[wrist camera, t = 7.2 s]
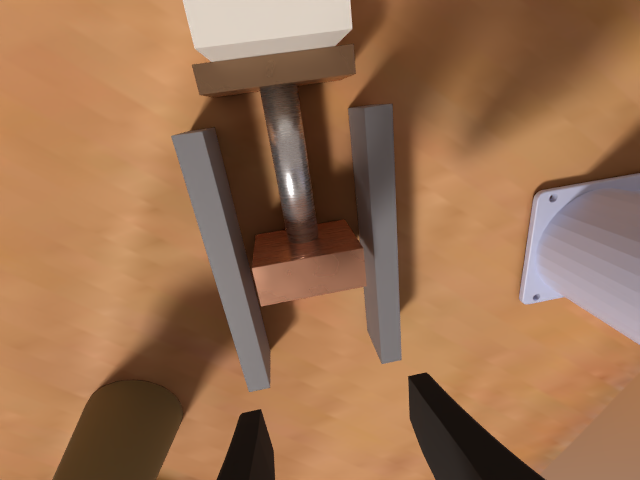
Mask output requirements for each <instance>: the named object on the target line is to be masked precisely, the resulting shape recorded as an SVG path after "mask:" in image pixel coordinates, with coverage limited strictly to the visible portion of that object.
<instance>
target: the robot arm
mask: <svg viewBox="0 0 640 480" xmlns="http://www.w3.org/2000/svg"><path fill="white" fill-rule="evenodd" d="M551 195H552V197H551V199H550V200H549V198H550V196H551ZM534 295H535V296H534ZM561 297H566V298H567V299H569V300H570V301H572V302H574V303H575V304H577V305H578V306H580V307H581V308H583V309H584V310H586V311H588V312H589V313H591V314H592V315H594V316H595V317H597V318H599V319H600V320H602V321H603V322H605V323H606V324H608V325H609V326H611V327H613V328H614V329H616V330H617V331H619V332H620V333H622V334H623V335H625V336H627V337H628V338H630V339H631V340H633V341H634V342H636V343H638V344H639V345H640V173H637V174H631V175H625V176H620V177H614V178H608V179H602V180H597V181H591V182H585V183H579V184H574V185H568V186H562V187H557V188H551V189H545V190H541V191H539V192H537V193H536V195H535V196H534V199H533V205H532V212H531V219H530V226H529V232H528V239H527V246H526V253H525V260H524V267H523V274H522V281H521V288H520V295H519V300H520V301H521V302H522V303H524V304H532V303H537V302H542V301H547V300H552V299H557V298H561ZM408 381H409V410H410V421H411V423H412V426H413V429H414V431H415V434H416V437H417V439H418V442H419V445H420V447H421V450H422V452H423V454H424V457H425V459H426V461H427V463H428V465H429V467H430V469H431V471H432V473H433V475H434V477H435V479H436V480H545V479H544V478H543V477H541V476H540V475H539V474H538V473H536V472H535V471H534V470H532V469H531V468H530V467H529V466H527V465H526V464H525V463H524V462H523V461H521V460H520V459H519V458H518V457H516V456H515V455H514V454H513V453H512V452H510V451H509V450H508V449H507V448H506V447H505V446H503V445H502V444H501V443H500V442H499V441H498V440H496V439H495V438H494V437H493V436H492V435H491V434H490V433H488V432H487V431H486V430H485V429H484V428H483V427H482V426H481V425H480V424H479V423H478V422H476V421H475V420H474V419H473V418H472V417H471V416H470V415H469V414H468V413H467V412H466V411H465V410H464V409H463V408H461V407H460V406H459V405H458V404H457V403H456V402H455V401H454V400H453V399H452V398H451V397H450V396H449V395H448V394H447V393H446V392H445V391H444V390H443V389H442V388H441V387H440V386H439V385H438V383H437V382H436V381H435V380H434V379H433V378H432V377H431V376H430V375H429V374H427V373H421V374H417V375H412V376H408ZM217 480H275V469H274V450H273V447H272V444H271V440H270V437H269V434H268V431H267V427H266V424H265V421H264V417H263V414H262V411H261V409H259V410H255V411H250V412H246V413H242V414H241V415H240V416H239V420H238V423H237V426H236V429H235V432H234V435H233V438H232V441H231V444H230V447H229V449H228V452H227V455H226V457H225V460H224V463H223V465H222V468H221V470H220V473H219V475H218V478H217Z"/></svg>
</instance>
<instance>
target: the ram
mask: <svg viewBox="0 0 640 480" xmlns="http://www.w3.org/2000/svg"><path fill="white" fill-rule="evenodd" d="M192 67H193V71H194V75H195V79H196V83H197V87H198V90H199V94H200V95H203V96H208V97H213V98H214V97H221V96H229V95H236V94H243V93H250V92H258V91H260V93H261V99H262V104H263V110H264V115H265V120H266V126H267V131H268V136H269V142H270V147H271V152H272V158H273V163H274V168H275V174H276V179H277V185H278V190H279V195H280V201H281V206H282V211H283V217H284V222H285V227H286V230H281V231H275V232H269V233H263V234H257V235H256V238H255V246H254V254H253V262H252V271H253V275H254V279H255V284H256V288H257V292H258V296H259V300H260V304H261V306H266V305H271V304H276V303H281V302H287V301H292V300H297V299H302V298H307V297H313V296H318V295H323V294H328V293H334V292H339V291H344V290H349V289H355V288H360V287H365V286H367V284H366V272H365V259H364V248H363V246H362V245H361V243H360V242H359V240H358V239H357V237H356V236H355V234H354V233H353V231H352V230H351V228H350V227H349V225H348V224H347V222H346V221H345V219H344V220H338V221H333V222H327V223H321V224H317V220H316V213H315V206H314V199H313V192H312V185H311V178H310V171H309V164H308V157H307V150H306V143H305V136H304V129H303V122H302V115H301V108H300V101H299V94H298V87H297V86H301V85H309V84H316V83H323V82H330V81H338V80H342V79H344V78H347V77H349V76H351V75H354V74H356V70H355V57H354V44H349V45H342V46H334V47H326V48H318V49H310V50H303V51H295V52H287V53H279V54H272V55H264V56H256V57H248V58H240V59H233V60H225V61H217V62H209V63H202V64H194V65H192Z"/></svg>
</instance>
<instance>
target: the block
mask: <svg viewBox="0 0 640 480" xmlns="http://www.w3.org/2000/svg"><path fill="white" fill-rule="evenodd" d="M183 3H184V7H185V12H186V16H187V20H188V24H189V28H190V32H191V36H192V40H193V44H194V48H195V49H196V50H197V51H198V52H200V53H201V54H202V55H203V56H205V57H206V58H207V59H209V60H210V61H211V62H217V61H225V60H233V59H240V58H248V57H256V56H264V55H272V54H279V53H287V52H295V51H303V50H310V49H318V48H326V47H334V46H336V45H337V44H338V43H339V42H340V41H341V40H342V39H343V38H344V37H345V36H346V35H347V34H348V33H349V32H350V31H351V30H352V17H351V4H350V0H183Z"/></svg>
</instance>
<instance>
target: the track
mask: <svg viewBox="0 0 640 480" xmlns="http://www.w3.org/2000/svg"><path fill="white" fill-rule="evenodd" d="M348 112H349V124H350V135H351V146H352V158H353V169H354V181H355V192H356V204H357V215H358V227H359V238H360V243H361V245H362V246H363V248H364V259H365V272H366V284H367V286H365V287H364V295H365V307H366V318H367V330H368V333H369V336H370V338H371V340H372V342H373V345H374V347H375V349H376V352H377V354H378V356H379V359H380V361H381V363H382V364H384V363H389V362H394V361H399V360H401V332H400V304H399V276H398V247H397V219H396V191H395V163H394V134H393V106H392V104H376V105H366V106H359V107H352V108H348ZM171 137H172V140H173V144H174V147H175V150H176V153H177V157H178V160H179V163H180V167H181V170H182V173H183V176H184V180H185V183H186V186H187V190H188V193H189V196H190V199H191V203H192V206H193V209H194V213H195V216H196V219H197V222H198V226H199V229H200V232H201V236H202V239H203V242H204V245H205V249H206V252H207V255H208V259H209V262H210V265H211V268H212V272H213V275H214V278H215V282H216V285H217V288H218V291H219V295H220V298H221V301H222V305H223V308H224V311H225V314H226V318H227V321H228V324H229V328H230V331H231V334H232V337H233V341H234V344H235V347H236V351H237V354H238V357H239V360H240V364H241V367H242V370H243V374H244V377H245V380H246V383H247V387H248V390H249V392H252V391H257V390H262V389H266V388H270V347H269V343H268V339H267V335H266V331H265V327H264V323H263V319H262V315H261V311H260V307H259V303H258V299H257V295H256V291H255V287H254V283H253V279H252V275H251V271H250V267H249V263H248V259H247V255H246V251H245V247H244V243H243V239H242V235H241V231H240V227H239V223H238V219H237V215H236V211H235V207H234V203H233V199H232V195H231V191H230V187H229V183H228V179H227V175H226V171H225V167H224V163H223V159H222V155H221V151H220V147H219V143H218V139H217V135H216V131H215V127H214V128H207V129H200V130H193V131H188V132H184V133H180V134H177V135H173V136H171Z"/></svg>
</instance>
